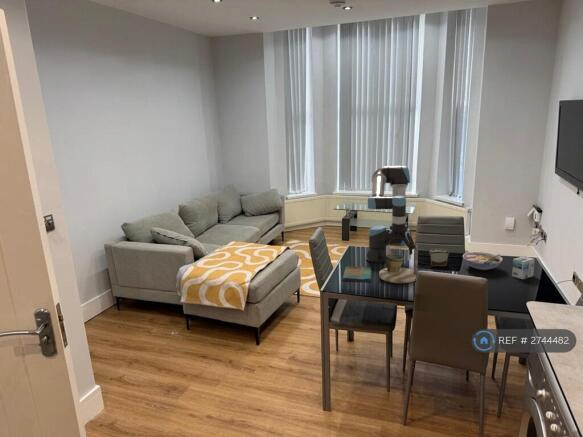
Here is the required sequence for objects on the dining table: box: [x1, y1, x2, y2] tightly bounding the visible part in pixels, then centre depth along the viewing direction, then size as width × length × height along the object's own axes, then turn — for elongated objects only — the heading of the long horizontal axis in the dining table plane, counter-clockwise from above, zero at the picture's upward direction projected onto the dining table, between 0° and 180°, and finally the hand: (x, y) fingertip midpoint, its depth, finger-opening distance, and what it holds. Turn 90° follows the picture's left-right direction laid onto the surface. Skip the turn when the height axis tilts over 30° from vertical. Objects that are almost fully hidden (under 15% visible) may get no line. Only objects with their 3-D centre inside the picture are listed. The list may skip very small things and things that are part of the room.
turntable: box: [378, 245, 419, 284], centre depth 236 cm, size 22×22×19 cm
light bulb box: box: [511, 255, 536, 280], centre depth 234 cm, size 11×7×11 cm, turn 118°
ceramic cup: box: [386, 253, 405, 275], centre depth 238 cm, size 13×10×10 cm
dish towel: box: [342, 266, 372, 283], centre depth 248 cm, size 17×23×2 cm
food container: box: [428, 248, 450, 267], centre depth 260 cm, size 12×6×10 cm, turn 84°
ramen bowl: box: [462, 251, 503, 271], centre depth 249 cm, size 25×23×8 cm
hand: (398, 257), depth 236 cm, fingers open, 13 cm apart
